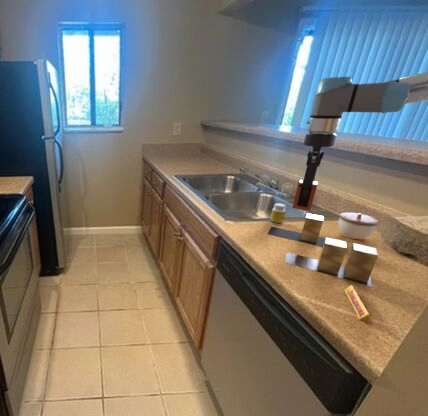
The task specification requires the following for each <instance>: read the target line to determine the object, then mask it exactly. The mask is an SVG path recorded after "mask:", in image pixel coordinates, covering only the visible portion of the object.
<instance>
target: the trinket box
mask: <svg viewBox="0 0 428 416" xmlns="http://www.w3.org/2000/svg"><path fill="white" fill-rule="evenodd" d="M377 225H379V220H378V219H376V218H375V217H373V216H371V215H367V214H362V213H361V212H358V213H357V212H342V213H340V214H339V218H338V222H337V227H338V230H339V232H340V233H341V234H342V235H343V236H344V237H346V238H349V239H352V240H363V239H366V238H369V237H370V236H371V235H372V234H373V233H374V231H375V230H376V228H377Z"/></svg>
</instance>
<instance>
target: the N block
mask: <svg viewBox="0 0 428 416" xmlns="http://www.w3.org/2000/svg"><path fill="white" fill-rule="evenodd" d="M378 257H379V254H378V250H377V248H376V247H374V246H373V247H372V246H367V245H364V244H358V243H355V242H354V243H352V245H351V248H350V251H349V254H348V257H347V259H346V262H345V265H344V267H345V268H344V275H345V277H348V278H352V279H355V280H359V281H363V282H366V283H367V282H368V280H369V277H370V276H371V274H372V272H373V270H374V267H375V265H376V261H377V259H378Z"/></svg>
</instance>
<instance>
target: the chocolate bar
mask: <svg viewBox="0 0 428 416" xmlns="http://www.w3.org/2000/svg"><path fill="white" fill-rule="evenodd" d="M344 292H345V294H346V296H347V298H348V300H349V303H350V304H351V305H352V308H353V309H354V311H355V316H356V318H357V319H358V320H359V321H362V322H367V323H372V324H373V320H372V318H371V316H370V313H369V312H368V309H366V307H365V305H364V303H363V302H362V300H361V298H360V296H359V295H358V293H357V291H356V289H355V287H353V285H352V284H351V285H349V286H348V287H346V288H344Z"/></svg>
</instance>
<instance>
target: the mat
mask: <svg viewBox="0 0 428 416" xmlns="http://www.w3.org/2000/svg"><path fill="white" fill-rule="evenodd" d="M301 234H302V232H299V231H294V230H289V229H285V228H281V227H278V226H277V227H276V226H272V225H271V226H270V228H269V230H268V232H267V235H269V236H273V237H278V238H281V239H282V238H283V239H286V240H290V241H294V242H300V243H303V244H308V245H312V246H317V247H320V248H322V247H323V244H324V241H325V238H326V237H323V236H319V237H318V240H317V243H313V242H309V241H304V240H300V237H301Z"/></svg>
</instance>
